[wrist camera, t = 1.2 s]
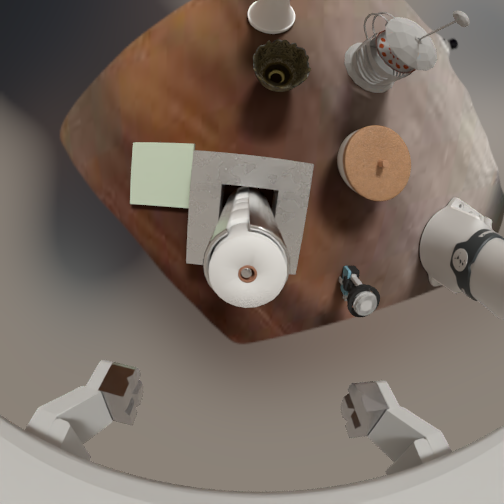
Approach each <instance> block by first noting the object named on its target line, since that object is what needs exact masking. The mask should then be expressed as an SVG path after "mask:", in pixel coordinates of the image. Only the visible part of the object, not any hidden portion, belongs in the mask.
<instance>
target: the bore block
mask: <svg viewBox="0 0 504 504" xmlns="http://www.w3.org/2000/svg"><path fill="white" fill-rule="evenodd" d="M313 166H314V164H309V163H303V162H297V161H290V160H283V159H276V158H268V157H260V156H252V155H243V154H233V153H222V152H209V151H193V161H192V172H191V184H190V197H189V213H188V231H187V255H186V263H189V264H198V265H203V259H204V253H205V251H206V248H207V246H208V244H209V241H210V239H211V236H212V234H213V232H214V229H215V227H216V225H217V222H218V220H219V218H220V216H221V213H222V209H223V198H224V188H225V184H227V185H237V186H246V187H255V188H264V189H272V190H274V194H273V201H272V208H271V211H272V213H273V215H274V218H275V220H276V223H277V225H278V228H279V230H280V232H281V235H282V237H283V240H284V242H285V245H286V247H287V250H288V254H289V257H290V271H289V274H296V269H297V263H298V258H299V252H300V247H301V241H302V236H303V230H304V224H305V218H306V212H307V206H308V200H309V193H310V187H311V180H312V173H313Z"/></svg>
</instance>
